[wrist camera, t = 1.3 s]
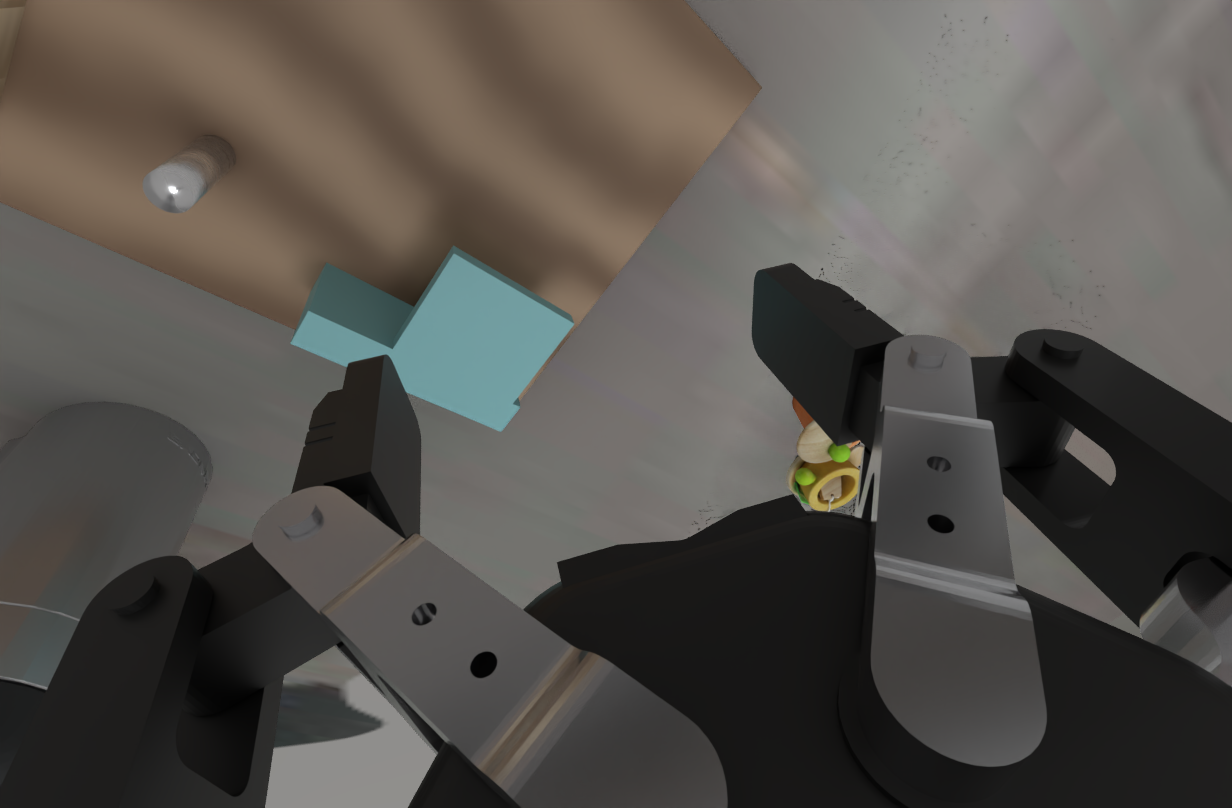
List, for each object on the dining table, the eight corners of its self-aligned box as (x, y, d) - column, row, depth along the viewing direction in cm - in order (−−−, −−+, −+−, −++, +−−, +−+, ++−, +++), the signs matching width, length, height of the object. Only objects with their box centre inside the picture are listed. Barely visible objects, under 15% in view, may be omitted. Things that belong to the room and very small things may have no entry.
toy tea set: (1013, 396, 55) (1104, 462, 47) (913, 508, 62) (978, 581, 55) (808, 341, 44) (884, 416, 36) (718, 485, 52) (766, 572, 44)
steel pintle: (228, 178, 27) (185, 221, 22) (189, 157, 26) (136, 197, 21) (241, 149, 26) (200, 187, 22) (201, 126, 25) (150, 160, 21)
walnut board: (502, 409, 40) (504, 420, 39) (-335, 39, 21) (-370, 42, 20) (752, 84, 31) (762, 87, 30) (-298, -1080, 12) (-358, -1166, 11)
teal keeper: (493, 378, 37) (501, 431, 33) (310, 291, 31) (290, 343, 27) (563, 283, 34) (582, 328, 30) (378, 167, 28) (367, 203, 24)
